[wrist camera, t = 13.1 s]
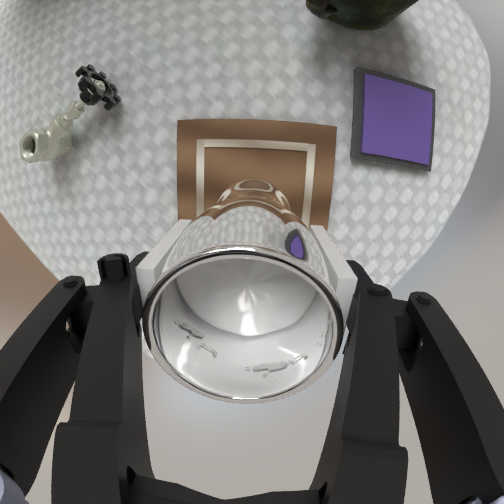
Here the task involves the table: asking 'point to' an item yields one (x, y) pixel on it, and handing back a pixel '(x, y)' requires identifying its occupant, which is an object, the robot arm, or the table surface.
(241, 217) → the beer glass
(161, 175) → the table surface
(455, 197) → the table surface
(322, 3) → the mug
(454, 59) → the table surface
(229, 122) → the board
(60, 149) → the valve
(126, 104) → the table surface
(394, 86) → the ink pad
